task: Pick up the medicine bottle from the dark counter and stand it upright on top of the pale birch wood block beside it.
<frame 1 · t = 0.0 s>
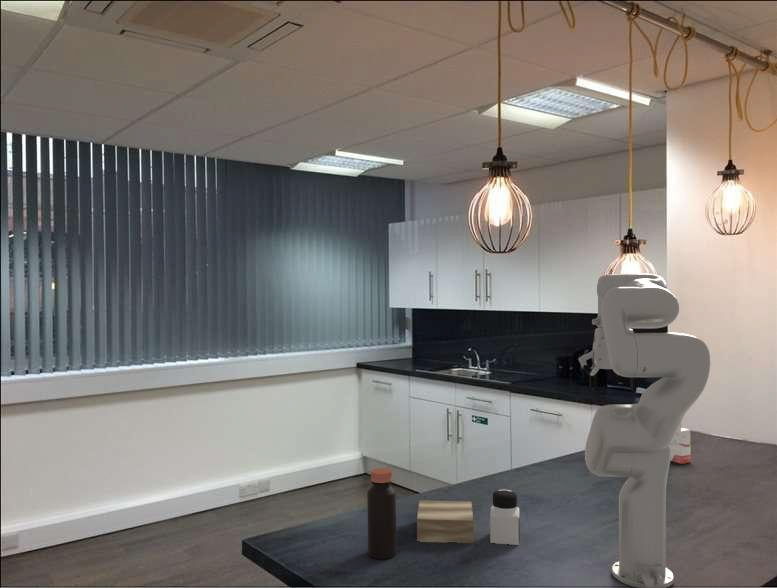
hand: (613, 390, 165), 37 cm above the counter, tool pointing down, fingers open, 9 cm apart
vinegar: (382, 554, 155), on the counter
medicine bottle: (505, 539, 163), on the counter
birch block: (445, 532, 168), on the counter
ink cartridge box: (676, 461, 231), on the counter
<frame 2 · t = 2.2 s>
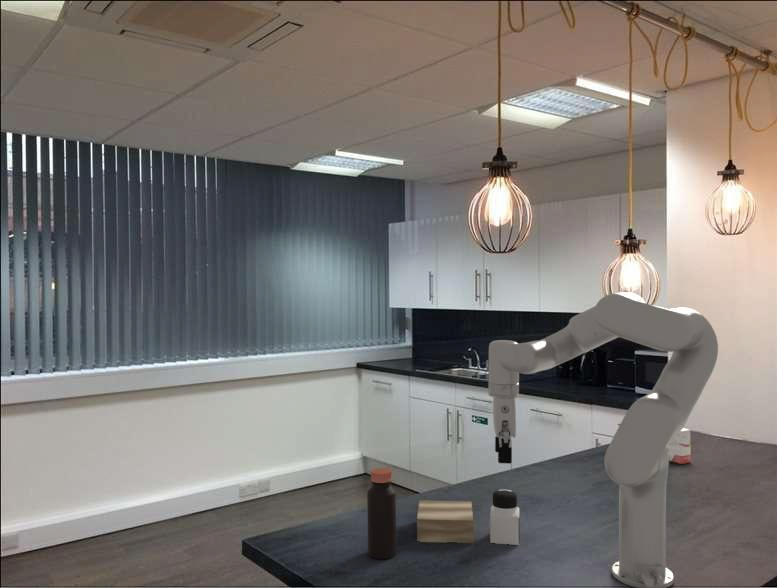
hand: (503, 457, 163), 21 cm above the counter, tool pointing down, fingers open, 9 cm apart
nothing on the counter moved.
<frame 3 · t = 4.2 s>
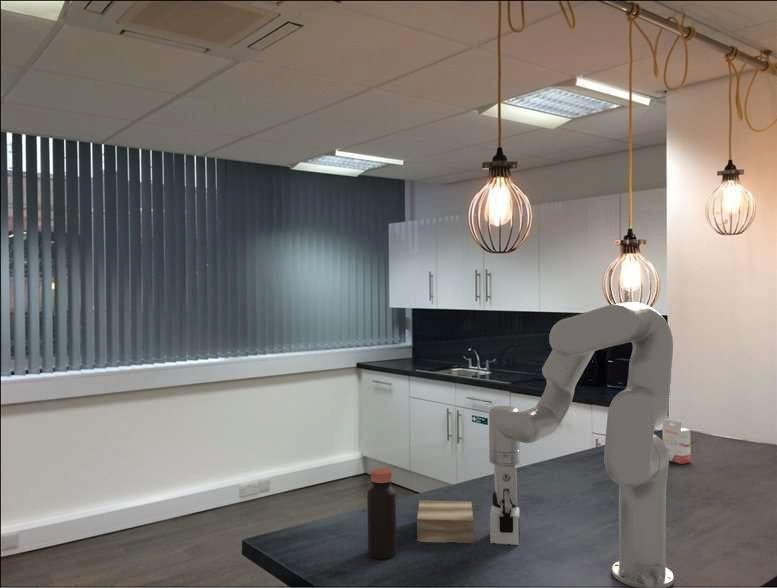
hand: (504, 525, 163), 3 cm above the counter, tool pointing down, fingers closed on medicine bottle, 7 cm apart
medicine bottle: (505, 539, 163), on the counter, touching gripper
everything else where it was.
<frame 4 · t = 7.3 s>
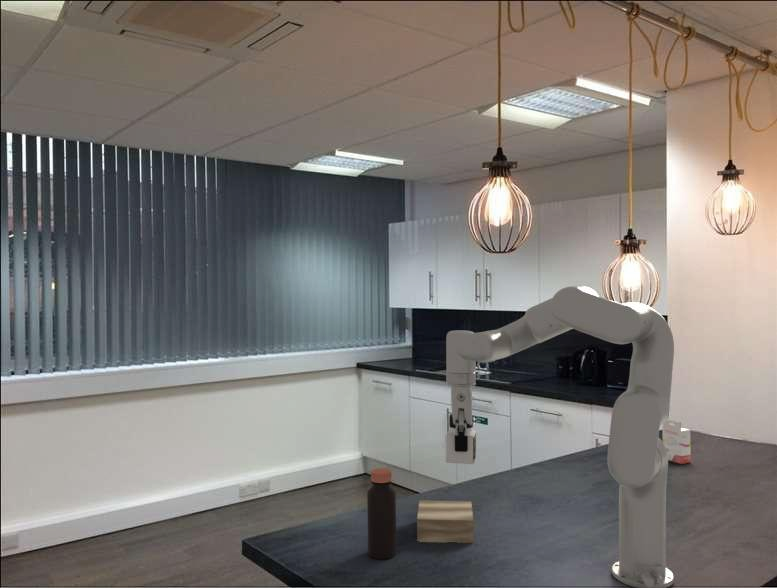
hand: (460, 446, 166), 22 cm above the counter, tool pointing down, fingers closed on medicine bottle, 7 cm apart
medicine bottle: (461, 460, 167), point 19 cm above the counter, touching gripper
everything else where it was.
when the fingers open (11 cm above the counter, at t = 10.6 s): medicine bottle drops 2 cm, resting on birch block.
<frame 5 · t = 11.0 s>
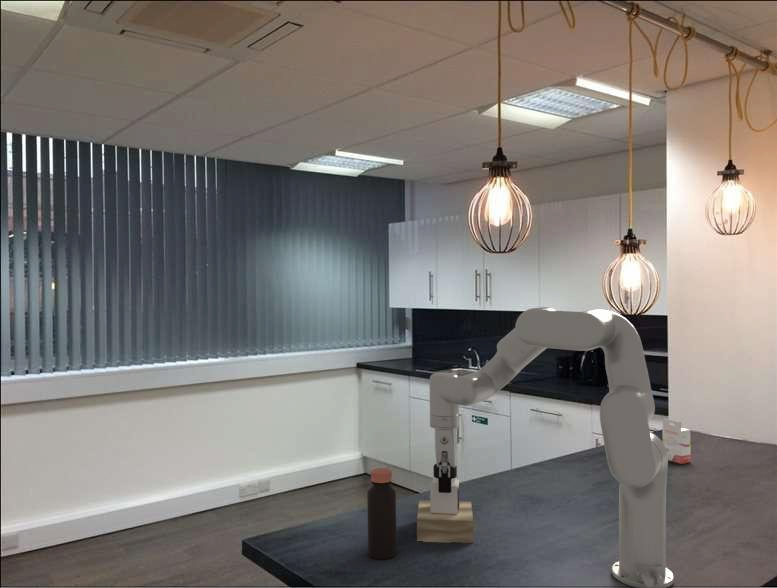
hand: (445, 486, 168), 12 cm above the counter, tool pointing down, fingers open, 9 cm apart
medicine bottle: (445, 510, 169), point 5 cm above the counter, touching birch block
birch block: (445, 533, 168), on the counter, touching medicine bottle
everything else where it was.
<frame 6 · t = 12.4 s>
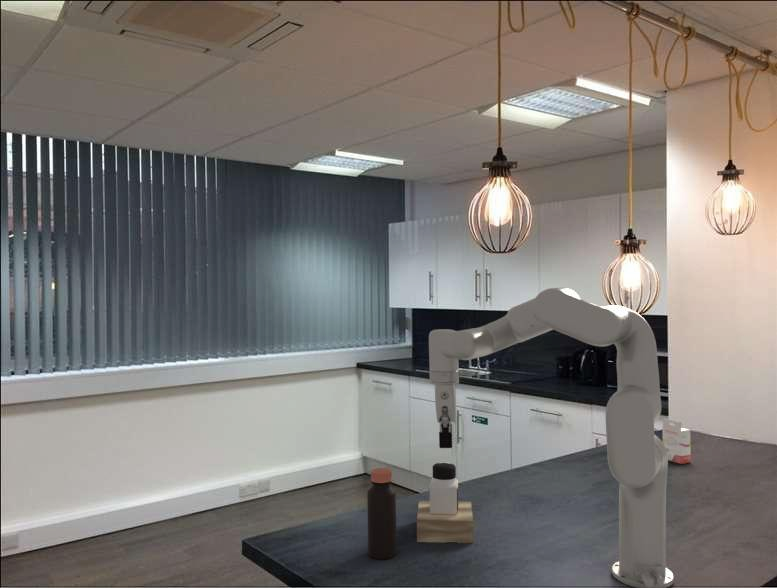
hand: (445, 443, 168), 23 cm above the counter, tool pointing down, fingers open, 9 cm apart
nothing on the counter moved.
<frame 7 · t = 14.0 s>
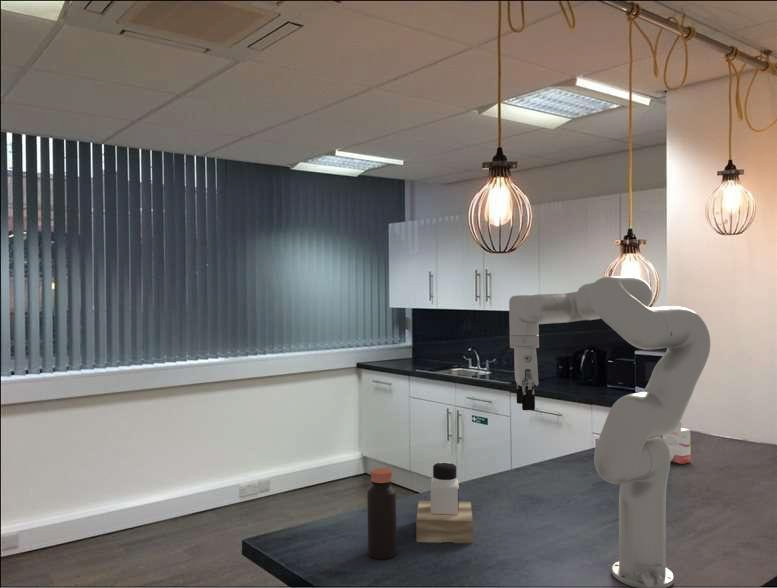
hand: (525, 406, 171), 32 cm above the counter, tool pointing down, fingers open, 9 cm apart
medicine bottle: (444, 510, 168), point 5 cm above the counter
birch block: (444, 533, 168), on the counter
everything else where it was.
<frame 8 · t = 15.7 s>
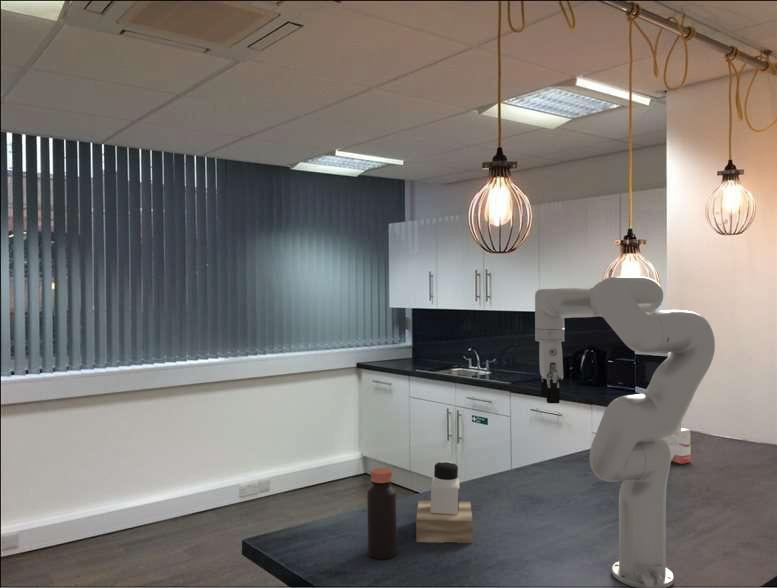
hand: (550, 399, 172), 33 cm above the counter, tool pointing down, fingers open, 9 cm apart
nothing on the counter moved.
at the end: medicine bottle inside the target area on the birch block (0.1 cm from its centre), point 6.0 cm above the birch block's base; medicine bottle tilted 3°; medicine bottle touching birch block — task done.
